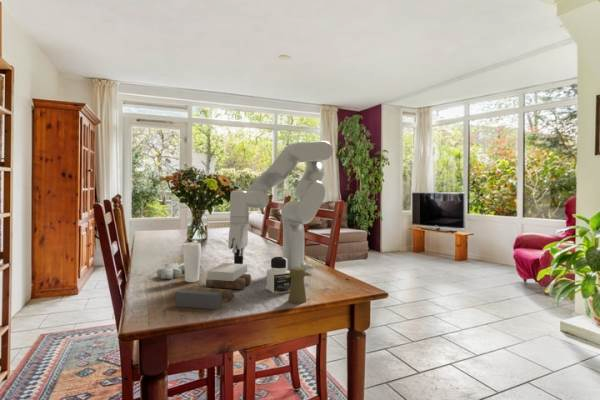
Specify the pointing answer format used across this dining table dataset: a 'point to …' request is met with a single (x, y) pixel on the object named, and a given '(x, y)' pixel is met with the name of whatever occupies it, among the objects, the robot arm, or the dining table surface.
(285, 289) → the medicine bottle
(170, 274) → the bunny figurine
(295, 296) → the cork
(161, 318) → the dining table surface
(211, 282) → the track
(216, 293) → the grey rectangular bar
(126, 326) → the dining table surface
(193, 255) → the white cup
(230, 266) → the slab
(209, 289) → the roller
